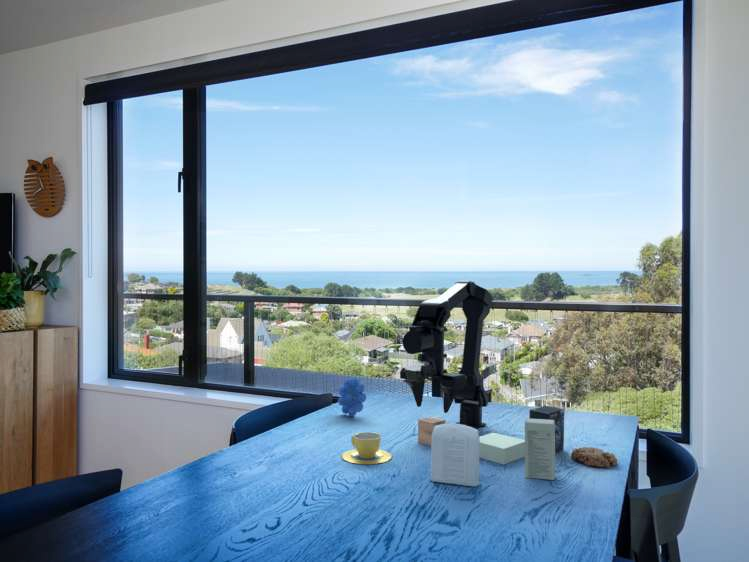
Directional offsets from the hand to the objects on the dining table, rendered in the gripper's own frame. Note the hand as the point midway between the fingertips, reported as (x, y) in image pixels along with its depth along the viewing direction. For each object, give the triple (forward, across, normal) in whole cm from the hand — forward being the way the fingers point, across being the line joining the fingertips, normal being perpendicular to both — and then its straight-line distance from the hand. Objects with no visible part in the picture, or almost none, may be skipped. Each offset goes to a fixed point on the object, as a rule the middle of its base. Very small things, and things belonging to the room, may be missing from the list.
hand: (432, 409), depth 157 cm
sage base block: (+9, +18, +4) cm, 20 cm away
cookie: (+9, +36, +17) cm, 41 cm away
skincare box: (+9, +33, -2) cm, 34 cm away
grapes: (+9, -35, +4) cm, 36 cm away
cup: (+9, -2, -21) cm, 23 cm away
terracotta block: (+9, 0, 0) cm, 9 cm away
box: (+9, +24, +16) cm, 30 cm away
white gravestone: (+9, +23, -19) cm, 31 cm away
